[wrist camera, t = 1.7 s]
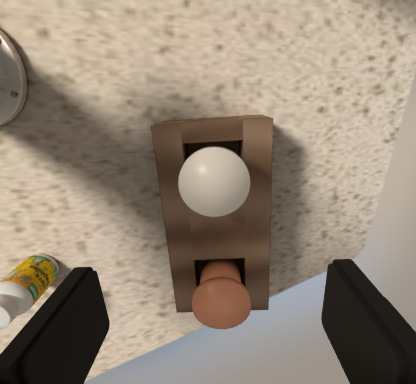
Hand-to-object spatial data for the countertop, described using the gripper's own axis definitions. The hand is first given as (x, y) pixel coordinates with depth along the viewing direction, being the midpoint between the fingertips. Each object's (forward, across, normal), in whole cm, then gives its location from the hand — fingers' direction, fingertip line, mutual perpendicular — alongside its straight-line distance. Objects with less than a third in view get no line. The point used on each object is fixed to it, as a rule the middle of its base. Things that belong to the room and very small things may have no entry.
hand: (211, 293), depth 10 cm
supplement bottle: (+25, +28, +16) cm, 40 cm away
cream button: (+19, 0, 0) cm, 19 cm away
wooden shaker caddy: (+24, 0, +7) cm, 25 cm away
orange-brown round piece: (+19, 0, +14) cm, 24 cm away
